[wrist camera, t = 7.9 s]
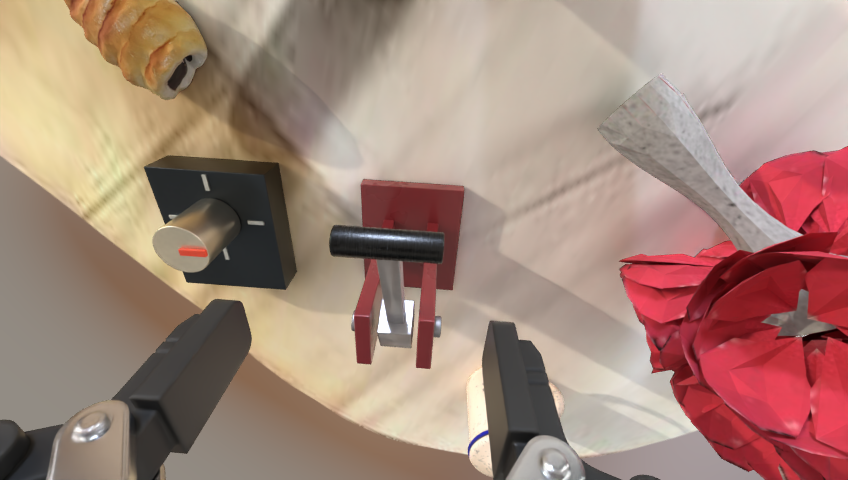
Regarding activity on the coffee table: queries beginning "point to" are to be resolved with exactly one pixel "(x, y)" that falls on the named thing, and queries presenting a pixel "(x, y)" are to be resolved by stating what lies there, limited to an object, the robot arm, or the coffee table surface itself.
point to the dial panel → (253, 203)
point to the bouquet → (747, 294)
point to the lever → (390, 270)
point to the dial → (197, 235)
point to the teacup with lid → (479, 425)
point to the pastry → (144, 40)
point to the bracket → (408, 212)
